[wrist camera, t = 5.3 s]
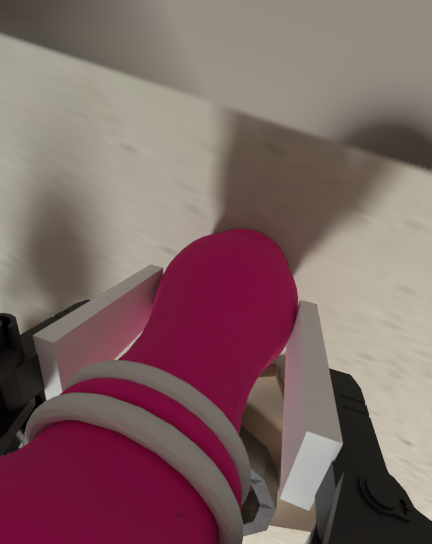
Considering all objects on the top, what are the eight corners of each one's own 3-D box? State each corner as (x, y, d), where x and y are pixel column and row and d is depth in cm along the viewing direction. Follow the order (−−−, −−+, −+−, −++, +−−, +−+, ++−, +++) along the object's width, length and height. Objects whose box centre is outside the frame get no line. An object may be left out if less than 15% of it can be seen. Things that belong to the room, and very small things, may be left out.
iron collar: (133, 409, 24) (117, 432, 22) (251, 406, 20) (245, 435, 17) (180, 495, 27) (169, 523, 25) (292, 510, 23) (291, 546, 20)
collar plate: (109, 380, 26) (100, 389, 25) (276, 365, 19) (275, 377, 18) (173, 497, 30) (168, 509, 29) (329, 518, 23) (330, 536, 22)
